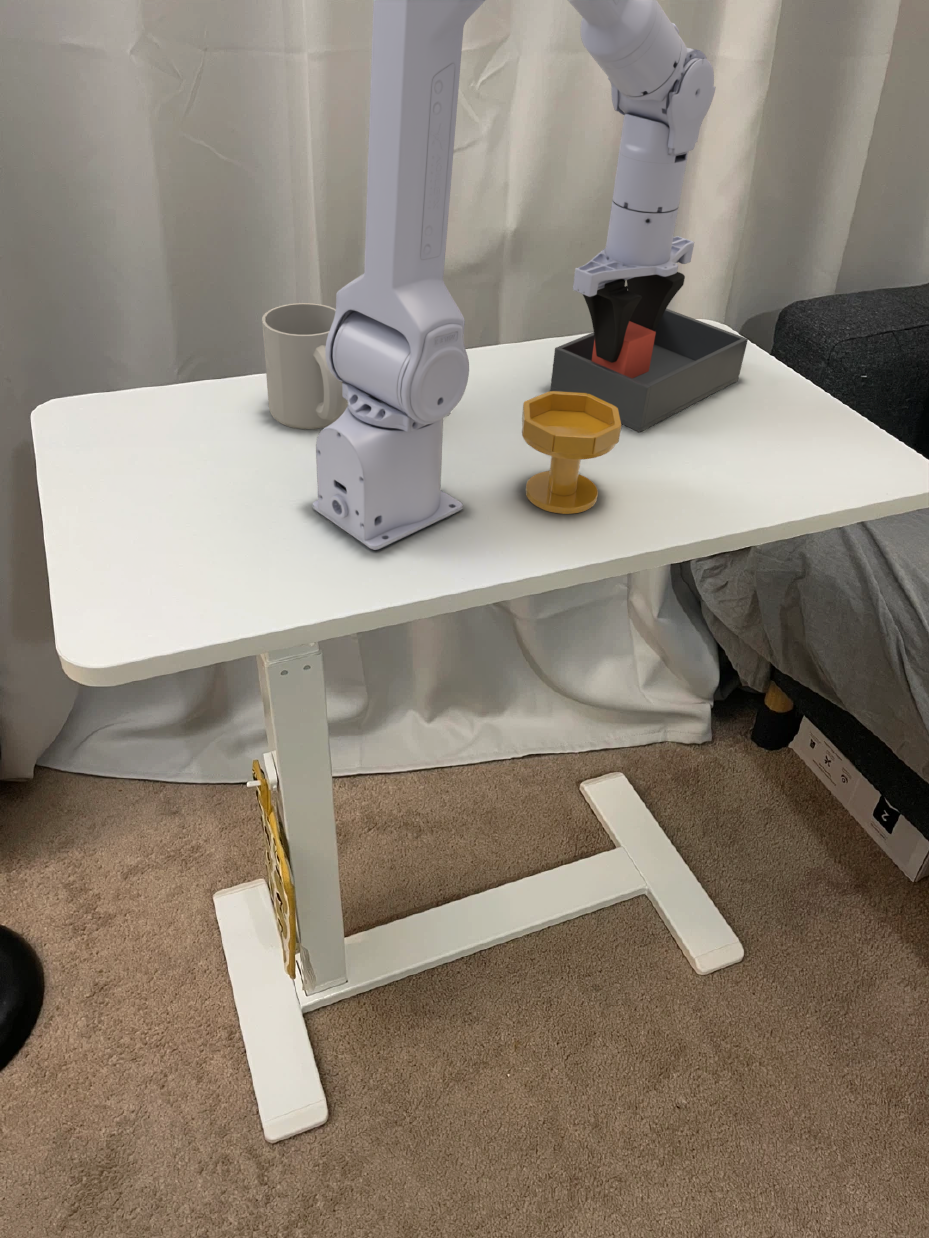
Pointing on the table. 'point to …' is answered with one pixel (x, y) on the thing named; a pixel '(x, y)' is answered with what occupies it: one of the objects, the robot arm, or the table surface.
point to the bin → (656, 370)
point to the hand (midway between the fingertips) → (621, 352)
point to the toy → (632, 352)
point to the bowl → (567, 446)
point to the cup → (301, 366)
